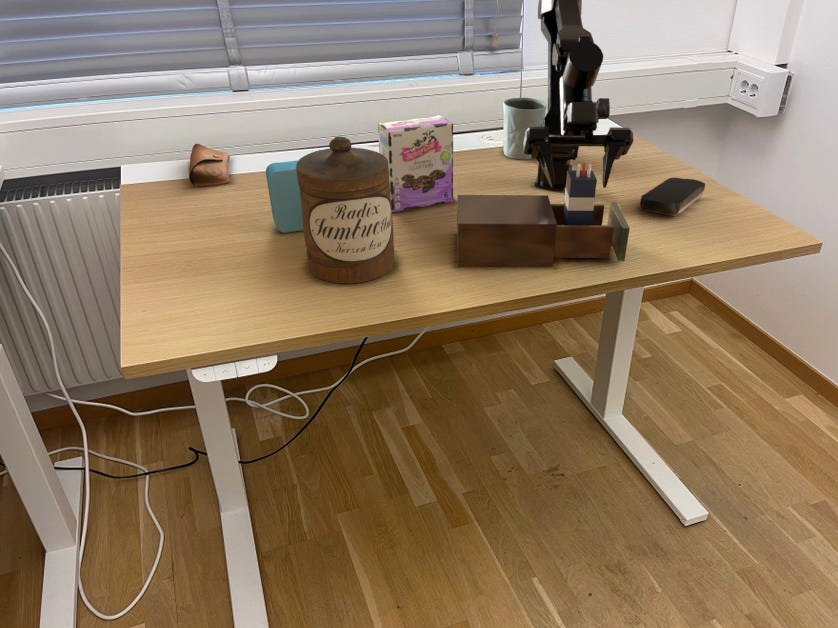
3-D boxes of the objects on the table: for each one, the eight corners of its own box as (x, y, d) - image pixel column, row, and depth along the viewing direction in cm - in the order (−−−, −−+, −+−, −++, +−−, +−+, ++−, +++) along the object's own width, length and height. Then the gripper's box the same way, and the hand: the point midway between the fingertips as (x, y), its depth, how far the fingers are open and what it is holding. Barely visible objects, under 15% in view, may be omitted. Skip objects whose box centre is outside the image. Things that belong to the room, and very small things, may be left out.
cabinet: (544, 235, 133) (548, 195, 128) (552, 267, 123) (556, 224, 118) (457, 235, 132) (457, 194, 128) (458, 266, 122) (458, 223, 117)
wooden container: (319, 291, 114) (302, 158, 101) (300, 252, 125) (283, 128, 112) (406, 275, 119) (400, 147, 106) (380, 239, 130) (372, 119, 117)
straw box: (560, 235, 128) (568, 156, 120) (585, 235, 129) (594, 156, 120) (564, 246, 125) (572, 165, 116) (589, 246, 125) (599, 165, 116)
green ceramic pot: (503, 145, 175) (505, 96, 168) (544, 148, 174) (548, 98, 167) (499, 159, 167) (501, 107, 160) (541, 162, 166) (545, 110, 159)
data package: (336, 216, 138) (329, 156, 131) (341, 225, 135) (334, 164, 128) (273, 224, 134) (264, 163, 127) (277, 234, 131) (267, 172, 124)
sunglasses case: (232, 181, 150) (210, 156, 146) (206, 199, 151) (183, 175, 147) (230, 153, 164) (210, 130, 160) (206, 171, 165) (186, 147, 161)
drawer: (618, 233, 132) (623, 201, 129) (631, 261, 123) (636, 228, 120) (530, 232, 132) (532, 201, 128) (536, 260, 122) (539, 227, 119)
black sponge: (673, 222, 139) (677, 205, 137) (635, 211, 143) (638, 194, 141) (705, 198, 150) (708, 181, 148) (668, 188, 154) (671, 172, 152)
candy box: (391, 213, 140) (387, 130, 130) (381, 203, 144) (376, 122, 134) (454, 202, 145) (454, 122, 136) (442, 192, 149) (441, 113, 140)
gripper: (529, 78, 117) (531, 166, 114) (639, 79, 118) (644, 167, 115) (522, 112, 128) (524, 193, 125) (623, 113, 129) (627, 194, 126)
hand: (578, 186), depth 123 cm, fingers open, 9 cm apart
